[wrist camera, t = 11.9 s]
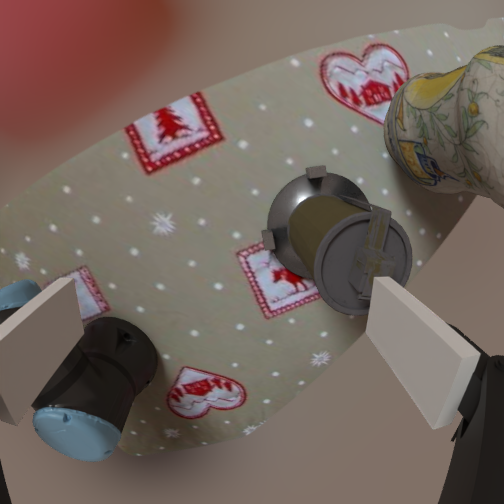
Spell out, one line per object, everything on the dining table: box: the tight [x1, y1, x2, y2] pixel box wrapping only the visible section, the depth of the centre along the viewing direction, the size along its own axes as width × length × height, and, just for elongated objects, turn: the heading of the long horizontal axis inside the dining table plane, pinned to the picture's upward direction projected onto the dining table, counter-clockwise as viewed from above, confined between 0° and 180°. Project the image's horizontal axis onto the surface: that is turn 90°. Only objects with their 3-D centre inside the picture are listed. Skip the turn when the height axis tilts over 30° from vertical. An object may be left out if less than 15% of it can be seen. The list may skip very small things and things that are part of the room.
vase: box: [384, 46, 504, 208], centre depth 30 cm, size 18×18×30 cm
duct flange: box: [261, 166, 372, 279], centre depth 46 cm, size 18×18×4 cm
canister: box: [287, 194, 412, 316], centre depth 36 cm, size 11×10×20 cm
